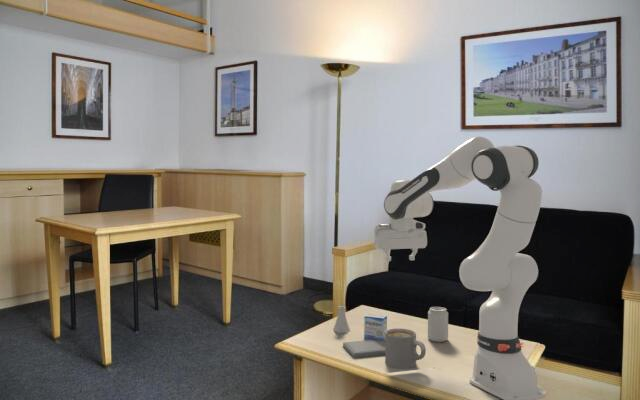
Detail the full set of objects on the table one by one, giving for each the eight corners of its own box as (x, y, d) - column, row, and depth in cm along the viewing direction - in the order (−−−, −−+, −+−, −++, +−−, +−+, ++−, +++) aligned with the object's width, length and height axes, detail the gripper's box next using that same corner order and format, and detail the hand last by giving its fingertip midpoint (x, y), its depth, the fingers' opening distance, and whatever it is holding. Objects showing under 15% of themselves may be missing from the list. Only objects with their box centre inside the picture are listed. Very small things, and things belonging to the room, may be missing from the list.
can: (446, 336, 193) (446, 306, 193) (449, 343, 186) (449, 311, 185) (426, 336, 194) (426, 305, 194) (428, 342, 187) (429, 310, 186)
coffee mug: (379, 362, 166) (379, 332, 165) (397, 355, 173) (397, 326, 172) (413, 373, 156) (413, 341, 156) (430, 365, 163) (431, 334, 163)
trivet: (387, 354, 174) (387, 350, 173) (354, 357, 170) (354, 353, 170) (374, 343, 185) (374, 339, 185) (343, 346, 182) (343, 342, 182)
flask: (349, 335, 195) (349, 309, 195) (331, 334, 197) (331, 309, 196) (351, 330, 202) (351, 305, 202) (333, 329, 204) (333, 304, 203)
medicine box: (363, 338, 191) (363, 316, 191) (367, 335, 195) (367, 313, 195) (383, 341, 188) (384, 318, 188) (387, 337, 192) (387, 315, 192)
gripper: (378, 225, 181) (377, 263, 182) (429, 224, 187) (428, 261, 188) (371, 223, 188) (371, 260, 189) (421, 222, 193) (420, 258, 194)
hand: (400, 260), depth 188 cm, fingers open, 8 cm apart
